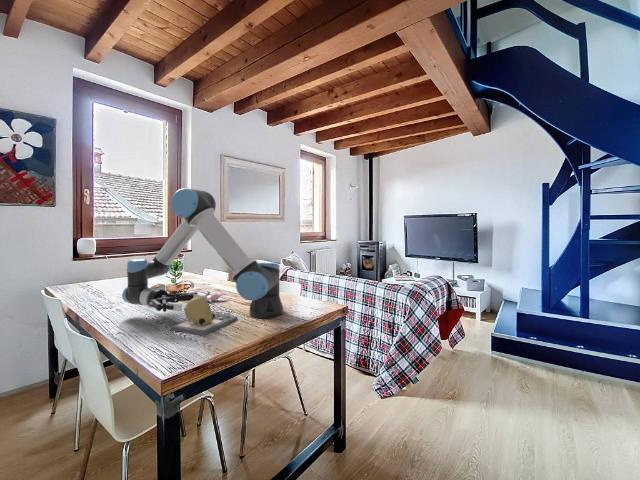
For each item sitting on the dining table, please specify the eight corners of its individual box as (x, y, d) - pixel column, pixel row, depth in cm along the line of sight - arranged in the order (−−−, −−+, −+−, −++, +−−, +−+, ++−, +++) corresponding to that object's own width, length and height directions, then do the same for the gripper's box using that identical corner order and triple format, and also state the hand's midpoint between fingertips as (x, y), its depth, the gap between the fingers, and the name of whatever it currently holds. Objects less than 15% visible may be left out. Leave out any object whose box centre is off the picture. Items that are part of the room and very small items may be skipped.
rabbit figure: (198, 307, 154) (228, 298, 162) (196, 296, 153) (226, 287, 161) (196, 304, 159) (225, 296, 167) (194, 293, 158) (223, 285, 166)
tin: (160, 297, 167) (160, 282, 167) (167, 297, 167) (166, 282, 167) (147, 305, 152) (146, 288, 152) (154, 305, 153) (153, 288, 152)
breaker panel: (237, 319, 132) (237, 312, 132) (203, 335, 114) (203, 327, 114) (207, 314, 138) (207, 308, 138) (170, 329, 120) (170, 321, 119)
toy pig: (190, 335, 119) (203, 321, 115) (176, 309, 123) (188, 294, 118) (211, 327, 128) (224, 313, 123) (197, 303, 131) (209, 288, 126)
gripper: (178, 299, 143) (215, 304, 135) (127, 315, 120) (168, 322, 112) (177, 283, 142) (215, 287, 135) (126, 295, 119) (168, 301, 112)
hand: (194, 303), depth 123 cm, fingers open, 13 cm apart
